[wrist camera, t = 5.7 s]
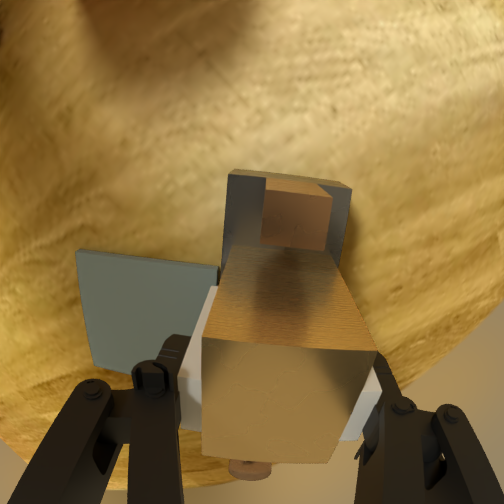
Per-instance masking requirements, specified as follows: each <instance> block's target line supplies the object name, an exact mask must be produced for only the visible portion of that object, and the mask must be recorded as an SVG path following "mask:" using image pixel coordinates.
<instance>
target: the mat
mask: <svg viewBox="0 0 504 504" xmlns="http://www.w3.org/2000/svg"><path fill="white" fill-rule="evenodd" d="M75 254H76V264H77V273H78V281H79V288H80V295H81V302H82V308H83V314H84V319H85V325H86V330H87V335H88V340H89V345H90V350H91V354H92V358H93V363H94V366H98V367H101V368H105V369H109V370H113V371H117V372H121V373H125V374H130V375H132V374H131V371H132V369H133V367H134V366H135V365H136V364H137V363H139V362H142V361H144V360H156V358H157V356H158V354H159V352H160V350H161V347H162V345H163V343H164V341H165V340H166V339H167V338H168V337H170V336H171V335H172V334H179V335H185V336H192V335H193V332H194V330H195V327H196V324H197V322H198V319H199V316H200V314H201V311H202V308H203V306H204V303H205V300H206V298H207V295H208V293H209V290H210V287H211V286H217V284H218V268H219V266H212V265H203V264H195V263H186V262H178V261H170V260H161V259H153V258H145V257H137V256H129V255H122V254H114V253H106V252H99V251H91V250H84V249H79V250H77V251H76V252H75Z"/></svg>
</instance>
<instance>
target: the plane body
mask: <svg viewBox="0 0 504 504" xmlns="http://www.w3.org/2000/svg"><path fill="white" fill-rule="evenodd" d="M351 194H352V189H351V188H349V187H348V186H346V185H344V184H342V183H340V182H338V181H331V180H324V179H317V178H310V177H303V176H295V175H287V174H279V173H270V172H261V171H251V170H241V169H234V170H233V171H231V172H230V173H229V174H228V183H227V195H226V207H225V220H224V233H223V247H222V261H221V276H220V280H221V277H222V274H223V271H224V268H225V265H226V262H227V259H228V256H229V253H230V250H231V248H232V245H240V246H250V247H259V248H268V249H277V250H286V251H295V252H304V253H313V254H322V255H331V257H332V259H333V260H334V262H335V264H336V266H337V268H338V266H339V261H340V256H341V251H342V245H343V240H344V235H345V229H346V224H347V218H348V212H349V206H350V200H351ZM229 473H230V474H231V475H232V476H234V477H236V478H238V479H242V480H248V481H256V480H261V479H265V478H267V477H268V476H269V475H270V474H271V462H258V461H246V460H236V459H230V462H229Z"/></svg>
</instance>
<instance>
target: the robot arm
mask: <svg viewBox="0 0 504 504" xmlns="http://www.w3.org/2000/svg"><path fill="white" fill-rule="evenodd" d="M217 289H218V286H211V287H210V290H209V293H208V295H207V298H206V300H205V303H204V306H203V308H202V311H201V314H200V316H199V319H198V322H197V324H196V327H195V330H194V332H193V335H192V336H185V335H179V334H172V335H171V336H170V337H168V338H167V339H166V340H165V341H164V343H163V345H162V347H161V350H160V352H159V354H158V356H157V358H156V360H144V361H142V362H139V363H137V364H136V365H135V366H134V367H133V369H132V371H131V374H132V380H133V386H134V388H133V389H128V390H111V388H110V386H109V385H108V384H107V383H106V382H105V381H102V380H100V379H88V380H85V381H82V382H80V383H79V384H78V385H77V386H76V387H75V389H74V390H73V392H72V394H71V395H70V397H69V398H68V400H67V401H66V403H65V404H64V406H63V408H62V409H61V411H60V412H59V414H58V416H57V417H56V419H55V420H54V422H53V424H52V425H51V427H50V429H49V430H48V432H47V433H46V435H45V437H44V438H43V440H42V442H41V443H40V445H39V447H38V449H37V450H36V452H35V454H34V455H33V457H32V459H31V461H30V462H29V464H28V466H27V468H26V470H25V472H24V473H23V475H22V477H21V479H20V480H19V482H18V484H17V486H16V488H15V490H14V492H13V493H12V495H11V498H10V499H9V501H8V503H7V504H100V503H101V500H102V498H103V495H104V492H105V490H106V487H107V484H108V482H109V479H110V476H111V474H112V471H113V469H114V466H115V464H116V461H117V458H118V456H119V453H120V451H121V448H122V446H123V444H130V446H129V463H128V493H127V497H128V499H127V504H184V495H183V486H182V475H181V464H180V451H179V436H178V428H179V425H180V422H181V429H186V430H192V431H198V432H202V402H201V385H202V380H201V339H202V334H203V331H204V328H205V325H206V321H207V318H208V315H209V312H210V309H211V306H212V303H213V300H214V298H215V295H216V292H217ZM362 432H363V435H364V439H365V440H364V441H363V444H362V445H361V447H360V448H359V450H358V452H357V453H356V455H355V458H354V459H357V458H358V457H359V455H360V459H359V468H358V477H357V485H356V493H355V500H354V504H504V494H503V492H502V489H501V487H500V485H499V482H498V480H497V478H496V476H495V473H494V471H493V469H492V467H491V465H490V463H489V460H488V458H487V456H486V454H485V452H484V450H483V448H482V446H481V444H480V442H479V440H478V439H477V436H476V434H475V433H474V431H473V429H472V427H471V425H470V423H469V421H468V419H467V417H466V415H465V414H464V412H463V411H462V410H461V409H460V408H458V407H457V406H454V405H452V404H444V405H441V406H440V407H439V408H438V409H437V410H436V412H428V411H423V410H418V409H417V407H416V404H414V402H413V401H412V400H410V399H409V398H407V397H404V396H402V394H401V392H400V389H399V387H398V385H397V383H396V380H395V378H394V376H393V375H392V372H391V369H390V368H389V365H388V363H387V361H386V359H385V358H384V357H383V356H382V355H381V354H380V353H379V352H377V355H376V358H375V360H374V363H373V365H372V368H371V370H370V373H369V375H368V378H367V380H366V383H365V385H364V388H363V390H362V392H361V394H360V396H359V398H358V401H357V403H356V405H355V407H354V410H353V412H352V414H351V416H350V418H349V421H348V423H347V425H346V427H345V429H344V431H343V433H342V435H341V437H340V439H339V441H354V440H358V438H359V437H360V435H361V433H362ZM442 453H443V455H444V457H445V459H444V458H443V456H442Z"/></svg>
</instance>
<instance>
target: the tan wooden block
mask: <svg viewBox="0 0 504 504" xmlns="http://www.w3.org/2000/svg"><path fill="white" fill-rule="evenodd" d="M377 352H378V350H377V348H376V345H375V343H374V341H373V339H372V337H371V335H370V333H369V330H368V328H367V326H366V324H365V322H364V320H363V318H362V316H361V314H360V312H359V310H358V308H357V306H356V304H355V302H354V300H353V298H352V296H351V294H350V292H349V290H348V288H347V286H346V284H345V282H344V280H343V278H342V276H341V274H340V272H339V270H338V268H337V266H336V264H335V262H334V260H333V259H332V257H331V255H322V254H313V253H304V252H295V251H286V250H277V249H268V248H259V247H250V246H240V245H232V248H231V250H230V253H229V256H228V259H227V262H226V265H225V268H224V271H223V274H222V277H221V280H220V283H219V286H218V289H217V292H216V295H215V298H214V300H213V303H212V306H211V309H210V312H209V315H208V318H207V321H206V325H205V328H204V331H203V334H202V339H201V380H202V385H201V402H202V432H201V440H202V455H205V456H212V457H219V458H227V459H236V460H246V461H258V462H273V463H328V461H329V459H330V457H331V456H332V453H333V452H334V450H335V448H336V446H337V444H338V442H339V439H340V437H341V435H342V433H343V431H344V429H345V427H346V425H347V423H348V421H349V418H350V416H351V414H352V412H353V410H354V407H355V405H356V403H357V401H358V398H359V396H360V394H361V392H362V390H363V388H364V385H365V383H366V380H367V378H368V375H369V373H370V370H371V368H372V365H373V363H374V360H375V358H376V355H377Z"/></svg>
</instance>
